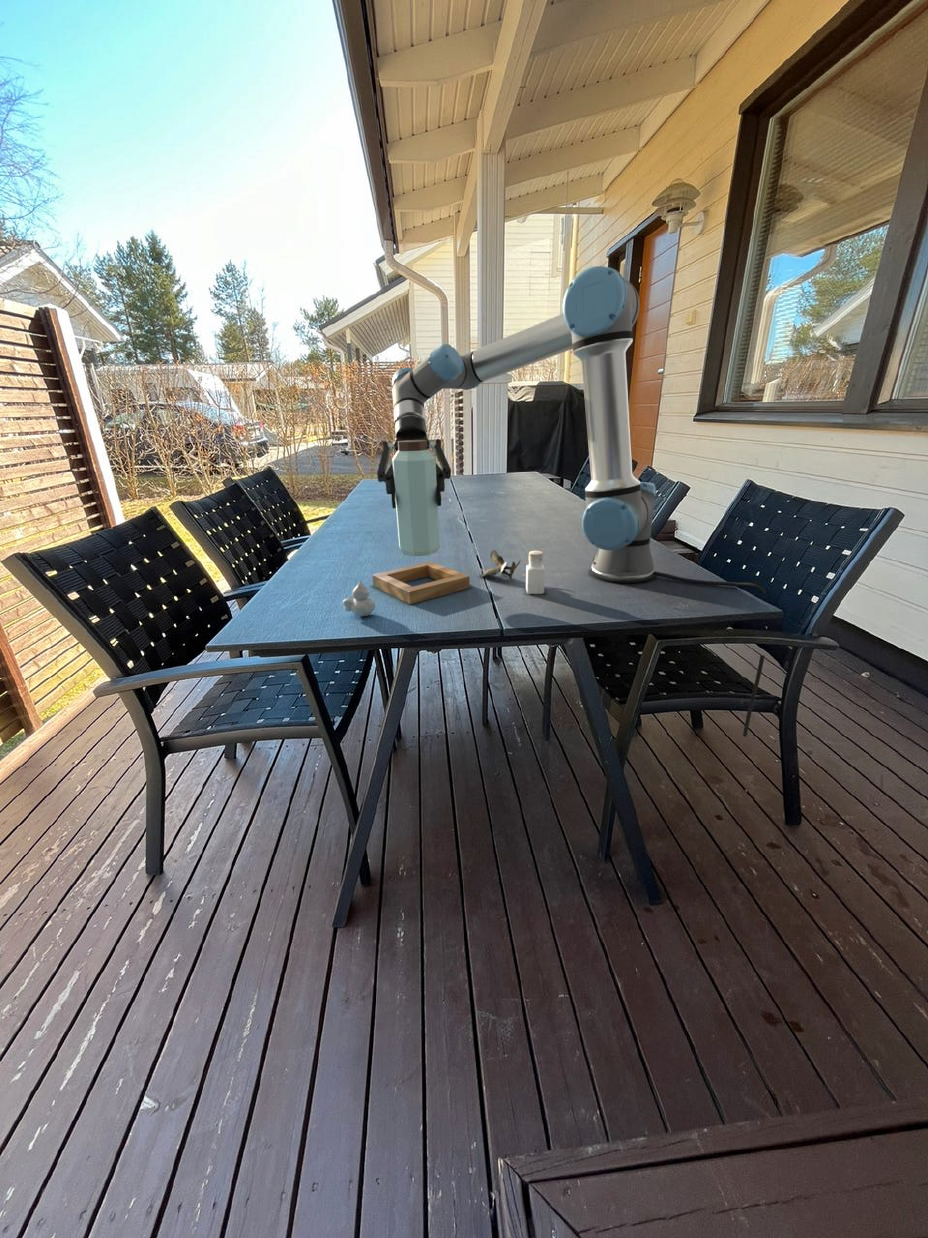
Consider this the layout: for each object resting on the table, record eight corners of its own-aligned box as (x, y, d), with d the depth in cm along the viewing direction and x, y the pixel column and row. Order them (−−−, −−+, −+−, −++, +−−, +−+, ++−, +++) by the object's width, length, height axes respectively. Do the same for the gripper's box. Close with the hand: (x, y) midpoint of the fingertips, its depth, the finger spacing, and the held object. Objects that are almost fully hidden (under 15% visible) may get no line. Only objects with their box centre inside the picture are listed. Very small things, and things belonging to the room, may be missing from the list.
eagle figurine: (522, 570, 135) (492, 559, 139) (519, 552, 129) (488, 541, 133) (507, 592, 132) (477, 580, 136) (504, 574, 126) (473, 562, 130)
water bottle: (434, 557, 119) (428, 442, 110) (392, 556, 121) (383, 442, 112) (445, 546, 128) (440, 438, 119) (405, 545, 130) (397, 439, 121)
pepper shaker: (526, 594, 121) (527, 554, 117) (525, 589, 124) (526, 550, 121) (544, 594, 121) (545, 554, 117) (542, 589, 124) (543, 550, 121)
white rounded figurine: (375, 619, 110) (372, 582, 107) (343, 621, 109) (339, 584, 106) (376, 609, 115) (373, 574, 111) (345, 611, 114) (341, 576, 111)
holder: (469, 587, 126) (469, 576, 125) (410, 604, 117) (409, 591, 116) (430, 572, 139) (429, 561, 138) (373, 586, 130) (372, 574, 128)
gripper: (455, 434, 130) (464, 510, 122) (365, 438, 128) (368, 515, 120) (456, 412, 123) (467, 490, 115) (361, 415, 121) (364, 495, 113)
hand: (416, 503), depth 117 cm, fingers closed on water bottle, 9 cm apart
